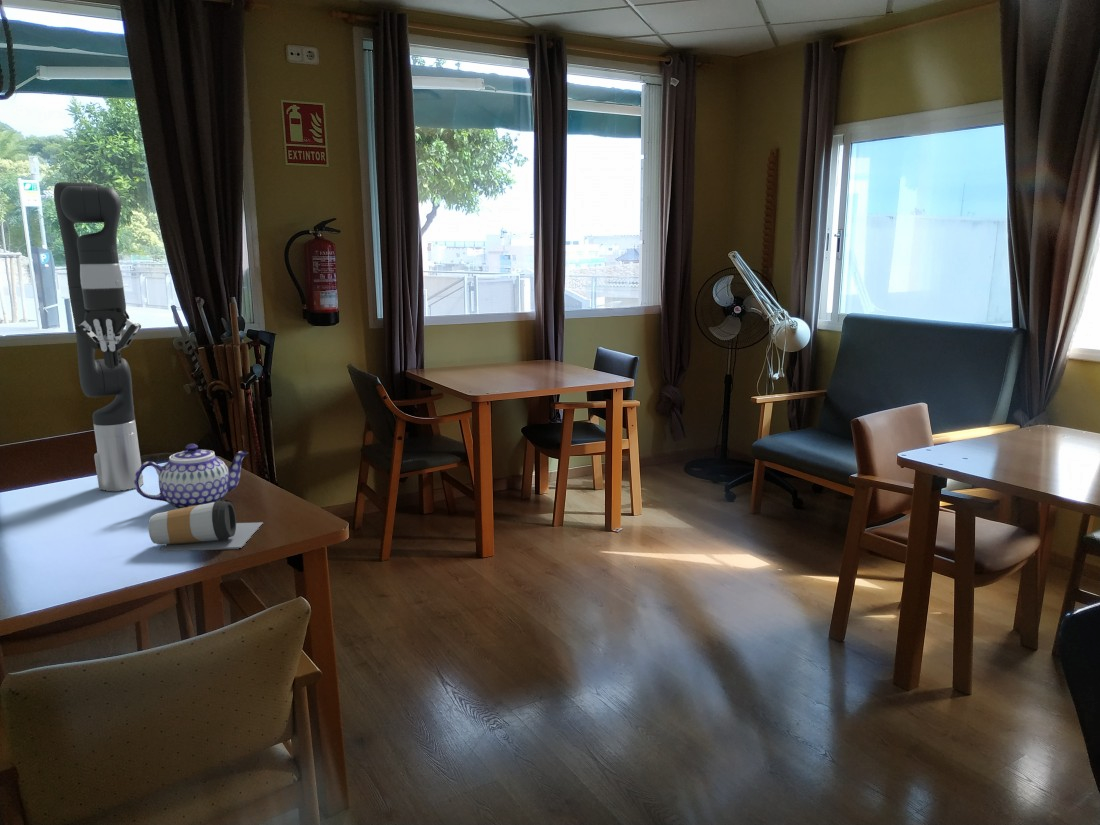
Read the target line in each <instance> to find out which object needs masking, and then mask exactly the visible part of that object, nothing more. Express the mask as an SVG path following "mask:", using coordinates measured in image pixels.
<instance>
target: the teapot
mask: <svg viewBox="0 0 1100 825" xmlns="http://www.w3.org/2000/svg"><path fill="white" fill-rule="evenodd" d="M184 448H185V450H182V451H179V452H176V453H173V454H171V455H169V457H168V458H169V460H168V461H167V462H166V463H165V464H164V465H163V466H161V465H159V464H157V463H156V462H154V461H150V460H148V461H145V462H143V464H141V467H140V468H139V469H138V471H137V472H136V474H135V477H134V485H135V488H134V489H135V490H136V492H137V493H138V494H139V495H141V497H143V498H146V499H149V500H155V501H162V502H166V503H168V504H169V505H171V506H173V507H174V510H175V509H180V508H185V507H190V506H195V505H200V504H201V505H203V504H208V503H213V502H215V501H222V499H223V498H224V497H225V496H226V495H227V494H228V493H229V492H232V491H233V490H234V489H236V488H237V486H238V485H239V483H240V479H241V471H242V462H243V459H244V458H245V457H246V456H247V455H249V452H248V451H245V450H240V451H238V452H237V453H236V454H235V455H234V458H233V459H232V462H231V464H229V465H226V463H225V462H224V460H222V459H220V458H218V457H217V456H216V454H215V451H214V450H210V449H198V448H199V446H198V445H197V444H195V443H188V444H187V445H185V447H184ZM147 467H153V468H154V470H155V471H156V474H157V475H158V486H159V487H158V488H159V493H158V494H148V493H146V492H144V491H143V489H142V488H141V486H139V478H140V475H141V473H142V474H143V471H144V470H145V469H146V468H147Z"/></svg>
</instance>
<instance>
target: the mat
mask: <svg viewBox="0 0 1100 825" xmlns="http://www.w3.org/2000/svg"><path fill="white" fill-rule="evenodd" d="M262 524H263V525H264V522H263V521H261V522H236V531H235V534H234V536H232V537H229V538H228V539H226V540H225V539H224V540H222V541H220V540H213V541H204V542H193V543H180V544H164V546H163V547H161V549H160V552H182V551H210V550H211V551H212V550H213V551H214V550H239V548H242V547H243V546H245V545H247V543H248V542H249V541H250V540H251V539H250V538H252V537H253V536H254V535H255V534H256V533H257V532H258V531H259V530H260V528H261V527H262V526H263V525H262ZM261 525H262V526H261ZM260 526H261V527H260ZM259 527H260V528H259ZM257 530H258V531H257ZM256 531H257V532H256ZM255 532H256V533H255ZM254 533H255V534H254ZM253 534H254V535H253ZM252 535H253V536H252ZM251 536H252V537H251ZM249 539H250V540H249ZM248 540H249V541H248ZM247 541H248V542H247ZM246 542H247V543H246ZM243 548H244V547H243ZM243 548H242V549H243Z"/></svg>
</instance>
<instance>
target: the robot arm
mask: <svg viewBox="0 0 1100 825" xmlns="http://www.w3.org/2000/svg"><path fill="white" fill-rule="evenodd" d="M53 187H54V188H53V199H54V204H55V205H54V206H55V212H56V215H57V216H56V217H57V220H58V225H59V226H58V227H59V231H60V235H61V241H62V245H63V252H64V260H65V268H66V277H67V285H68V287H67V288H68V294H69V301H70V307H71V312H72V316H73V323H74V330H75V337H76V339H75V340H76V347H77V348H76V349H77V364H78V376H79V383H80V387H81V391H82V392H83V394H84V396H85V397H88V398H101V397H109V396H115V398H114V399H113V400H112V401H111V402H110V403H109V404H107V405H105V406H102V408H99V409H96V410H95V411H93V413H92V423H93V430H94V437H95V443H96V451H97V452H96V453H94V456H93V458H94V463H95V470H96V477H97V478H96V479H97V485H98V490H99V491H105V490H106V492H121V491H120V490H123V491H127V490H126V489H129V490H132V489H131V488H133V489H136V488H135V485H134V477H135V474H136V472H137V471H138V469H139V468H140V467H141V466H142V460H141V453H140V447H139V439H138V438H139V437H138V431H137V424H136V415H135V406H134V396H133V382H132V381H133V380H132V371H131V368H130V364H129V362H128V361H127V359H125V358H123V357H122V354H121V351H122V349H125V348H128V347H129V346H130V345H131V343H132V342H133V340H134V339H135V337H136V336H137V334H138V333H139V331H140V330H141V328H142V325H141V323H136V322H134V321H133V320H131V319H130V316H129V314H128V312H127V310H126V309H127V304H126V303H127V302H126V298H125V297H126V296H125V289H124V281H123V275H122V270H121V267H120V264H119V263H120V262H119V260H120V259H119V252H118V244H117V241H118V240H117V237H118V236H117V235H118V228H119V227H118V226H119V221H120V216H121V212H122V199H121V197H120V195H119V193H118V192H117V191H116V190H115V189H113V188H111V187H108V186H104V185H101V184H98V183H94V182H73V181H72V182H70V181H69V182H68V181H66V182H65V181H60V182H57V183H55V185H54V186H53ZM77 223H78V224H100V223H103V227H102V228H101V229H100V230H99V231H97V232H92V233H86V234H83V235H80V236H79V234H78V232H77V230H76V228H75V224H77ZM124 330H126V331H125V333H124V334H123V335H122V332H123V331H124ZM96 350H100V351H102V353H103V358H101V359H100V358H99V359H95V354H96ZM142 484H143V485H144V475H143V472H142V473H141V475H140V478H139V486H140V487H141V486H143V485H142ZM101 489H102V490H101Z"/></svg>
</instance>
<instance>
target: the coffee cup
mask: <svg viewBox="0 0 1100 825" xmlns="http://www.w3.org/2000/svg"><path fill="white" fill-rule="evenodd" d="M236 523H237V517H236V511H235V507H234V505H233V503H232V502H230V501H226V500H224V499H223V500H222V499H221V500H220V501H215V502H213V503H208V504H203V505H201V504H200V505H195V506H190V507H185V508H180V509H175V508H174V509H172V510H171V509H170V510H167V511H163V512H157V513H155V514H153V515H151V516H150V518H149V521H148V536H149V538H150V540H151V543H153V544H154V545H157V546H161V545H166V544H180V543H193V542H204V541H213V540H220V541H222V540H224V539H225V540H226V539H228V538H229V537H232V536H234V534H235V531H236Z"/></svg>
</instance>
